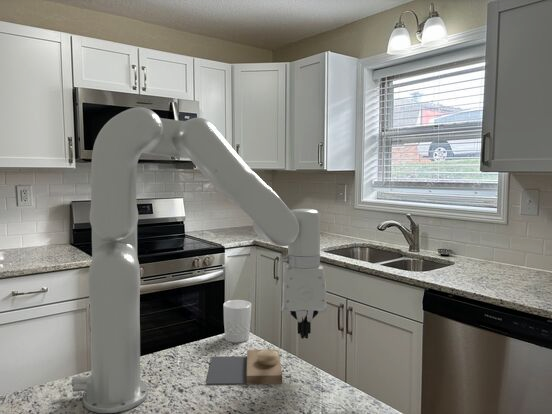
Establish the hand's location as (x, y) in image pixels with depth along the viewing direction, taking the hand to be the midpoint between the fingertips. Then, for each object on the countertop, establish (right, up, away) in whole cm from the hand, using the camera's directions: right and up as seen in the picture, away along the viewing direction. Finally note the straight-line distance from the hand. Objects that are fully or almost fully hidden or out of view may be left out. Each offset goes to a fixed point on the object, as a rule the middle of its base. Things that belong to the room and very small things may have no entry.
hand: (304, 336), depth 103 cm
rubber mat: (-18, -8, -1) cm, 20 cm away
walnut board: (-10, -8, 0) cm, 13 cm away
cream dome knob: (-9, -6, 0) cm, 11 cm away
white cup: (-18, -7, +19) cm, 27 cm away
